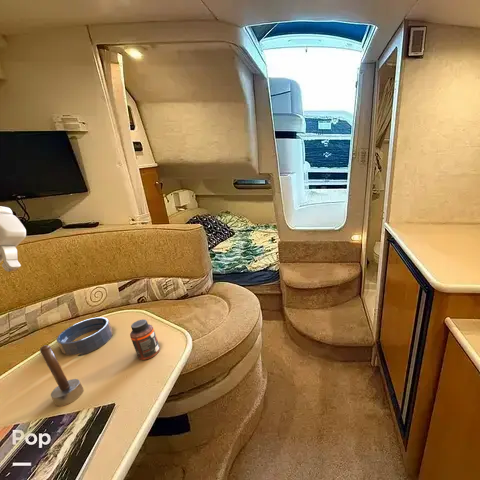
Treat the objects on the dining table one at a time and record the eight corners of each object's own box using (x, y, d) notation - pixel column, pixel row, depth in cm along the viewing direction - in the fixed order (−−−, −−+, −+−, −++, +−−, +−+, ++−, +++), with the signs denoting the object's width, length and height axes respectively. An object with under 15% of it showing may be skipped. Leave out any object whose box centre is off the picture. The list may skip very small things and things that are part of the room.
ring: (54, 352, 86) (47, 338, 85) (99, 326, 98) (94, 314, 96) (77, 362, 81) (71, 347, 79) (122, 334, 93) (117, 321, 91)
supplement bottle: (164, 349, 84) (154, 319, 80) (146, 363, 79) (135, 331, 75) (152, 344, 87) (142, 315, 83) (134, 357, 82) (122, 327, 78)
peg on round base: (50, 402, 68) (22, 351, 63) (76, 384, 73) (52, 336, 68) (62, 409, 66) (34, 357, 61) (88, 390, 71) (64, 341, 66)
